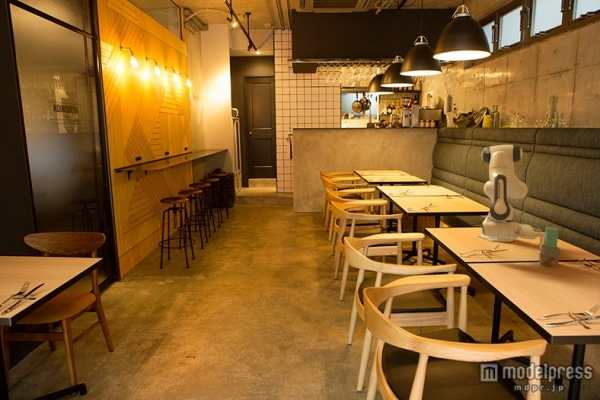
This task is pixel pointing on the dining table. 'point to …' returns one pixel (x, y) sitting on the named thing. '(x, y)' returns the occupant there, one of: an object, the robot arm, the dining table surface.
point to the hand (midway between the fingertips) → (542, 232)
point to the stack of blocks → (542, 241)
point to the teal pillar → (551, 237)
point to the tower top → (550, 252)
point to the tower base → (548, 261)
